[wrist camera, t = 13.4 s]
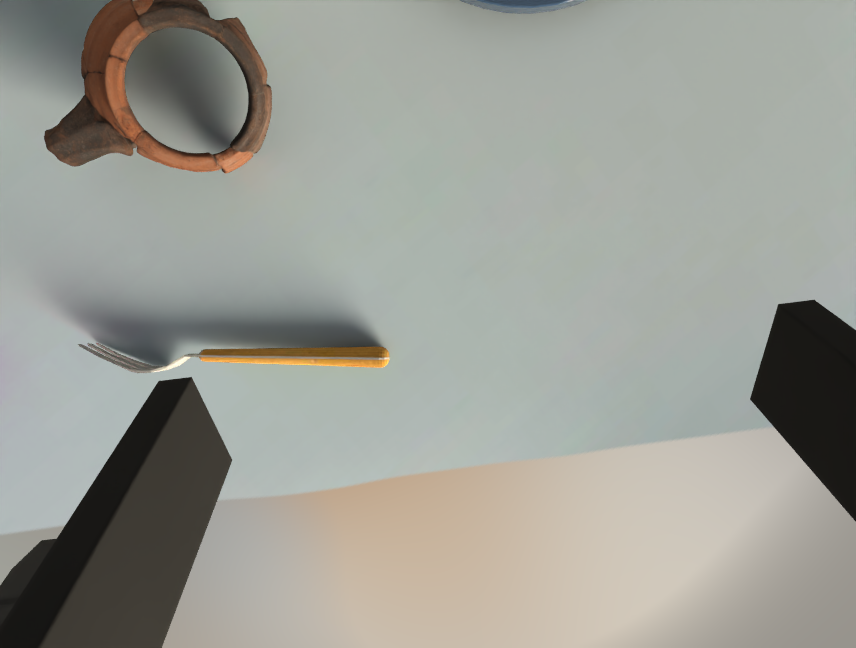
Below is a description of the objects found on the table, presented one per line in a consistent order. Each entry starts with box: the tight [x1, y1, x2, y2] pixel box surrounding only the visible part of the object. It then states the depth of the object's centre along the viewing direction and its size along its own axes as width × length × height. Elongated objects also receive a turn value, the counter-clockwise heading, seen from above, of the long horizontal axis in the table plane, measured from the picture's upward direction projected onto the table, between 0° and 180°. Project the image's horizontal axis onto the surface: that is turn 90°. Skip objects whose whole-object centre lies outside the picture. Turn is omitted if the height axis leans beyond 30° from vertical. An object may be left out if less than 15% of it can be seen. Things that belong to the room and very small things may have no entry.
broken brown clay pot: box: [44, 0, 272, 173], centre depth 28 cm, size 12×10×8 cm
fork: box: [78, 343, 390, 373], centre depth 33 cm, size 2×2×20 cm
